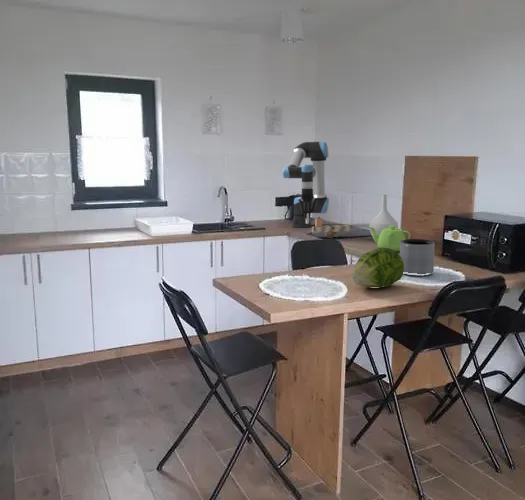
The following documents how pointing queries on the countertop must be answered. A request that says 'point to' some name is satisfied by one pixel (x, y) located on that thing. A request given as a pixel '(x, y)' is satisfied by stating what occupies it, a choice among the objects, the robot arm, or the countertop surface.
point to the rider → (318, 222)
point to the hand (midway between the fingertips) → (307, 223)
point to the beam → (331, 230)
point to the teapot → (390, 237)
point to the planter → (417, 255)
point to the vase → (382, 219)
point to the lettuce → (378, 268)
